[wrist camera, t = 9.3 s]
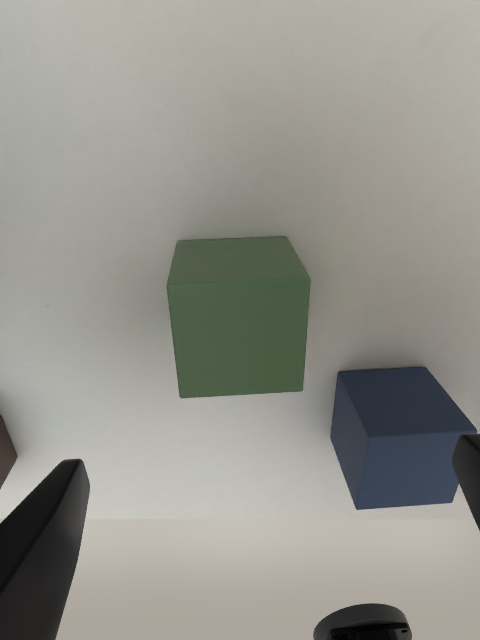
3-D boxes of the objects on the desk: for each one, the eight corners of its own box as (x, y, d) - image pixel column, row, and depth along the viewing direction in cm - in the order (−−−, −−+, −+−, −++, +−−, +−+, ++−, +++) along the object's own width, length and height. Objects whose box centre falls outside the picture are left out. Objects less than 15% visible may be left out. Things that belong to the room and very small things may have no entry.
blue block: (409, 432, 22) (452, 503, 18) (329, 437, 22) (356, 510, 18) (425, 366, 20) (478, 430, 16) (337, 371, 20) (368, 437, 16)
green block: (283, 330, 19) (303, 392, 15) (186, 335, 18) (179, 399, 14) (287, 235, 16) (311, 278, 12) (176, 240, 16) (165, 284, 12)
